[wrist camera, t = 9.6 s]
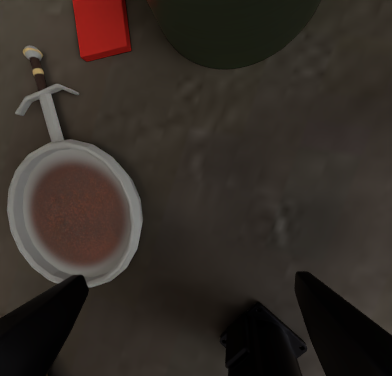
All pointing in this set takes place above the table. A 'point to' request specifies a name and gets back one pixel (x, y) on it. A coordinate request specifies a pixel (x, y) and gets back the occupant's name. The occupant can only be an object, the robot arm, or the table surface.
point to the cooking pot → (231, 28)
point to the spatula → (101, 28)
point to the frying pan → (71, 201)
